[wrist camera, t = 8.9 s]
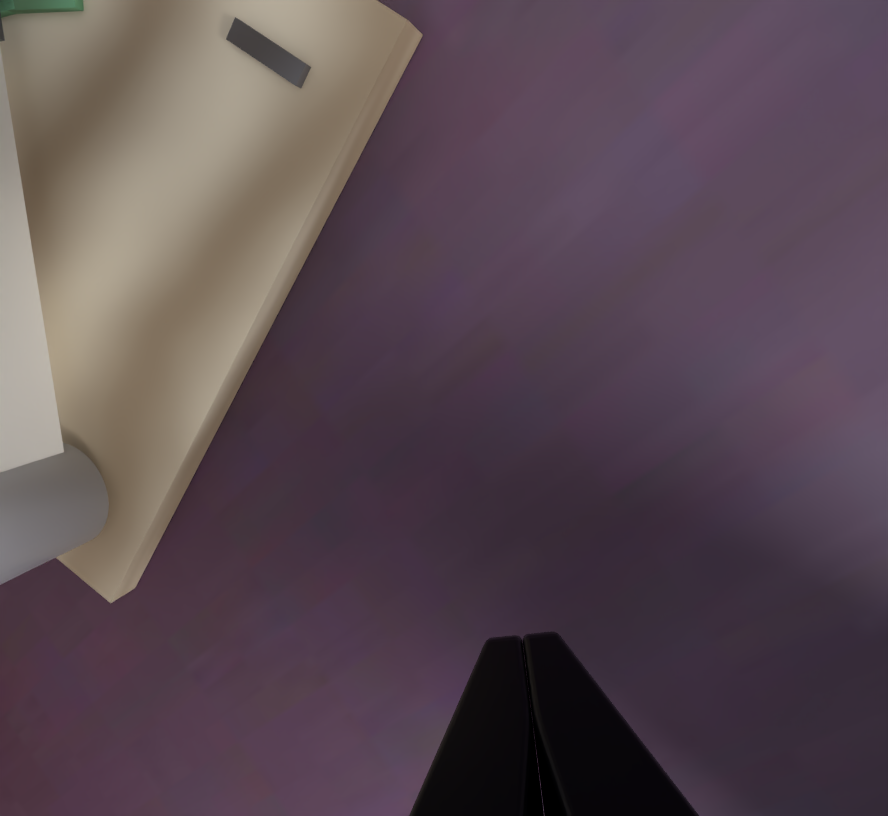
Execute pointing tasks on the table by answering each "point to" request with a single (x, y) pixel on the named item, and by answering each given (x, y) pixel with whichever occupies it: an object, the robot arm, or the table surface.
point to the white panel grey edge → (33, 403)
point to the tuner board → (177, 213)
